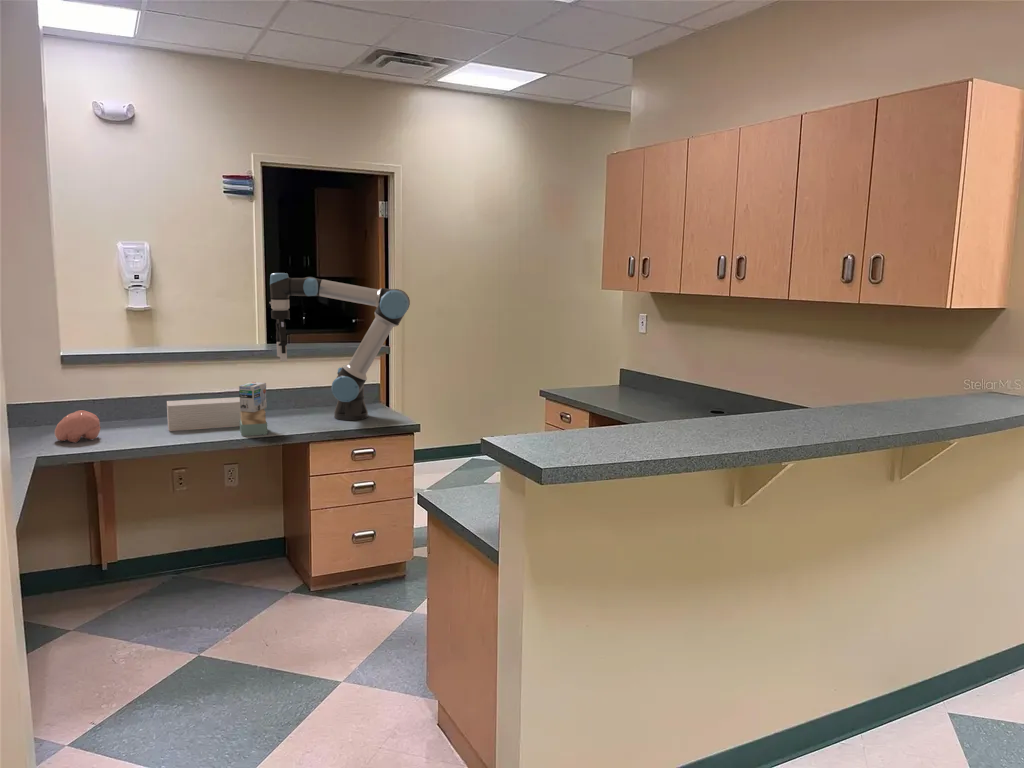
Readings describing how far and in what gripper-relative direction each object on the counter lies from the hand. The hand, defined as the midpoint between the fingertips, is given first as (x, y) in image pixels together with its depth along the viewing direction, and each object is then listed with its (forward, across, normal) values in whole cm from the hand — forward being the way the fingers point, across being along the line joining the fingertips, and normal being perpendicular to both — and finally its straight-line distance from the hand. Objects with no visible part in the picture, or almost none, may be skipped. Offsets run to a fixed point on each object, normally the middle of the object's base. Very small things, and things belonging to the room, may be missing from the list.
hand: (282, 358), depth 318 cm
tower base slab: (+29, +14, -14) cm, 35 cm away
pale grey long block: (+28, -3, -30) cm, 42 cm away
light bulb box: (+19, +14, -13) cm, 27 cm away
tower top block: (+24, +14, -14) cm, 31 cm away
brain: (+28, +9, -77) cm, 83 cm away
